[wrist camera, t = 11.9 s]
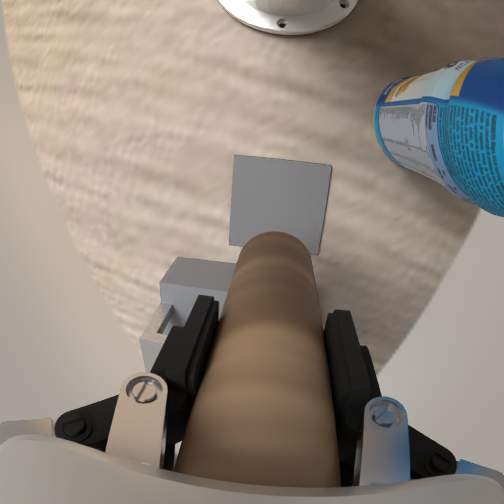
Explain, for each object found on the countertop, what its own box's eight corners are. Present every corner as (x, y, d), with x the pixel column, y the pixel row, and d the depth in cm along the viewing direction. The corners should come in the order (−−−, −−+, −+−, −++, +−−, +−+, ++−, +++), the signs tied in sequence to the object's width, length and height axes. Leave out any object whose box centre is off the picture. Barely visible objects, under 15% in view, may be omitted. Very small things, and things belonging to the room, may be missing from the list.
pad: (234, 154, 25) (234, 155, 25) (330, 165, 25) (331, 166, 24) (229, 243, 28) (228, 244, 28) (317, 252, 28) (317, 254, 28)
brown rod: (240, 227, 16) (108, 600, 2) (316, 235, 16) (377, 620, 1) (236, 293, 18) (156, 601, 3) (305, 300, 18) (315, 616, 3)
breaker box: (177, 256, 29) (159, 282, 25) (303, 271, 29) (306, 300, 24) (184, 372, 36) (173, 402, 32) (280, 385, 35) (279, 417, 31)
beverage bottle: (356, 148, 24) (518, 234, 6) (385, 60, 20) (561, -8, 2) (435, 185, 24) (600, 302, 6) (463, 104, 21) (647, 134, 2)
